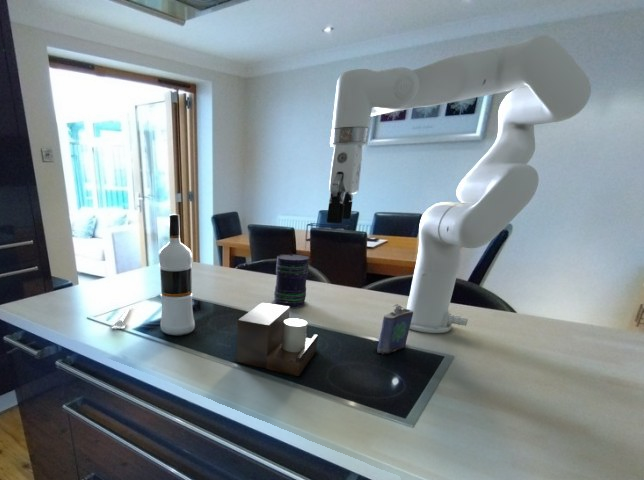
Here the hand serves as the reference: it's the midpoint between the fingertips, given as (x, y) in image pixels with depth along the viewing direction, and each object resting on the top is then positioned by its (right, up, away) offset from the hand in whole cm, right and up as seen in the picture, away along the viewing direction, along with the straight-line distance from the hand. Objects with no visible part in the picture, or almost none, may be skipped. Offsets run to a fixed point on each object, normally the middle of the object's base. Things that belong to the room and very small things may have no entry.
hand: (338, 220), depth 91 cm
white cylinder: (-12, -30, -5) cm, 32 cm away
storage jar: (-3, -17, +34) cm, 38 cm away
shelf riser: (-15, -32, -2) cm, 35 cm away
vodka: (-38, -26, +14) cm, 48 cm away
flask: (+13, -30, +1) cm, 33 cm away
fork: (-55, -23, +22) cm, 63 cm away
